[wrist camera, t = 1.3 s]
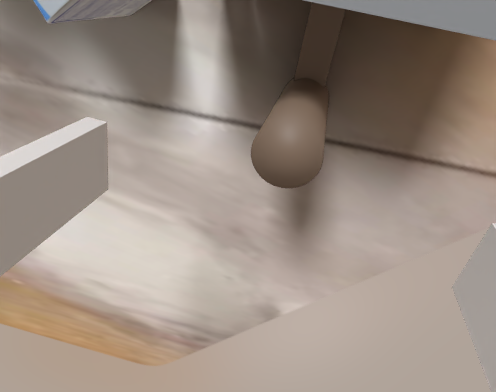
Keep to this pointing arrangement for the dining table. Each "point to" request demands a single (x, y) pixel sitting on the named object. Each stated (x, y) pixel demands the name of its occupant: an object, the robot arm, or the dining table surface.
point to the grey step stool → (431, 13)
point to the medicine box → (86, 9)
